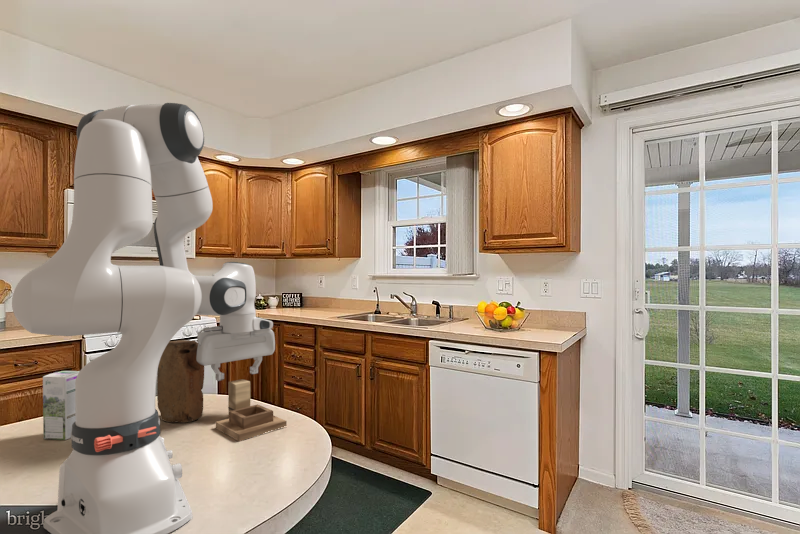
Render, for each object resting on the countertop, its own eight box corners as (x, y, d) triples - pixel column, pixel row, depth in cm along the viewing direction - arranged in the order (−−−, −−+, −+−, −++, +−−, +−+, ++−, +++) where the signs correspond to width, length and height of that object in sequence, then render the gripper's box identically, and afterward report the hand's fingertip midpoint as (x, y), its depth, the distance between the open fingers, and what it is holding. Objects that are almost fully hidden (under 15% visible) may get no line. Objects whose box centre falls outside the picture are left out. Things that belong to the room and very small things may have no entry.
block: (154, 420, 112) (154, 341, 112) (179, 411, 118) (179, 337, 118) (184, 426, 107) (184, 344, 107) (209, 417, 114) (209, 340, 114)
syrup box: (86, 431, 104) (86, 370, 104) (64, 441, 98) (64, 376, 98) (64, 430, 105) (64, 369, 105) (41, 440, 99) (41, 375, 99)
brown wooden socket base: (286, 427, 106) (286, 410, 106) (239, 441, 98) (239, 423, 98) (261, 415, 115) (261, 400, 115) (215, 428, 106) (215, 411, 106)
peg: (250, 416, 115) (250, 381, 115) (235, 420, 112) (235, 384, 112) (243, 412, 117) (243, 379, 117) (228, 416, 114) (228, 381, 114)
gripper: (203, 329, 105) (202, 387, 105) (278, 321, 120) (277, 371, 120) (192, 326, 109) (191, 382, 110) (266, 319, 124) (265, 367, 125)
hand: (237, 376), depth 115 cm, fingers open, 8 cm apart
